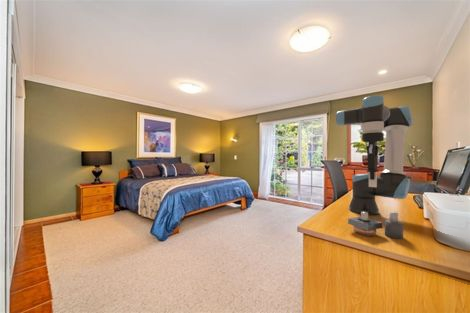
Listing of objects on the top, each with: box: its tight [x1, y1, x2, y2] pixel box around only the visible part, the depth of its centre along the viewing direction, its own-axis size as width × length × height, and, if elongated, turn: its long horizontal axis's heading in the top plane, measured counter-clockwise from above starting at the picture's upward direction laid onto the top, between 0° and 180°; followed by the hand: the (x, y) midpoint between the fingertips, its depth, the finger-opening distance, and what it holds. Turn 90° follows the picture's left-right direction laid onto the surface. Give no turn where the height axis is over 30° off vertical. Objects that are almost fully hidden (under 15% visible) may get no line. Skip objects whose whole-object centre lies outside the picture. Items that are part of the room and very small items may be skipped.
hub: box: [352, 211, 377, 237], centre depth 85 cm, size 8×8×9 cm
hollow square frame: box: [347, 215, 383, 231], centre depth 85 cm, size 9×9×2 cm
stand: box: [384, 211, 404, 240], centre depth 82 cm, size 6×6×10 cm
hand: (372, 186), depth 83 cm, fingers closed
